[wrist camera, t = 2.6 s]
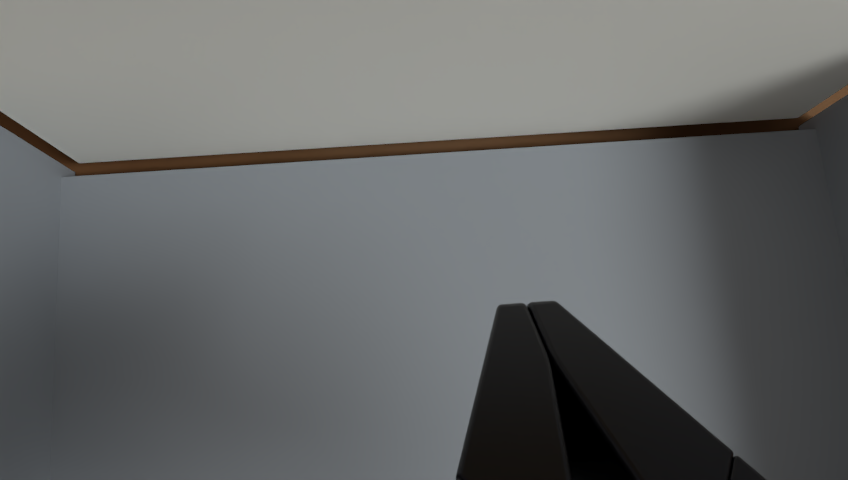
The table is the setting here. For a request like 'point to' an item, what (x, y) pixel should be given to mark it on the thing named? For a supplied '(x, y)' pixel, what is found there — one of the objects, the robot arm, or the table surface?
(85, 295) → the carton
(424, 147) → the table surface
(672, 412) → the robot arm
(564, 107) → the flap
